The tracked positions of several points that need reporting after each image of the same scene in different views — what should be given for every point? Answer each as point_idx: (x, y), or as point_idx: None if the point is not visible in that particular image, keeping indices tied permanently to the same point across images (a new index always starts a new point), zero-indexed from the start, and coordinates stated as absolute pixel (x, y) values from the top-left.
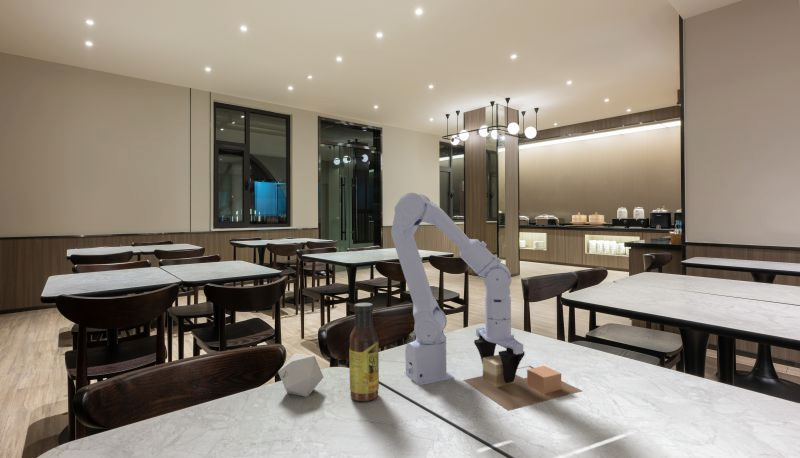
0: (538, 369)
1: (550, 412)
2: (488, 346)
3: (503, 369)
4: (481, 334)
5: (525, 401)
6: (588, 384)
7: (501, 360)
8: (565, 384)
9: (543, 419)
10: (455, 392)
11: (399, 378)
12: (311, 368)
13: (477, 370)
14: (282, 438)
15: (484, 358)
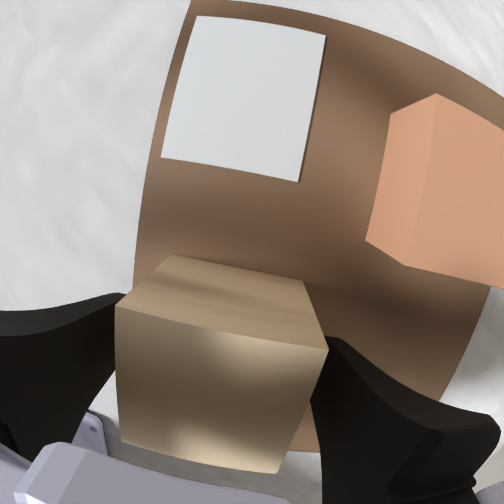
0: (453, 195)
1: (498, 347)
2: (45, 411)
3: (322, 444)
4: None
5: (431, 378)
6: (479, 18)
7: (322, 500)
8: (465, 87)
9: (488, 391)
10: (197, 474)
11: None
12: None
13: (58, 277)
14: None
15: (136, 443)
